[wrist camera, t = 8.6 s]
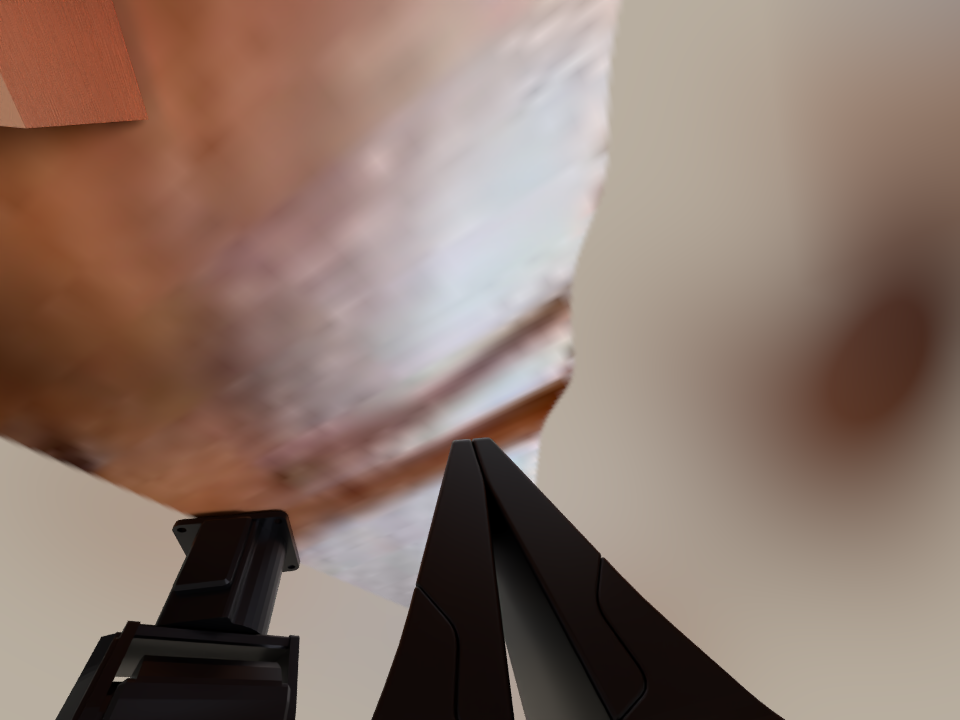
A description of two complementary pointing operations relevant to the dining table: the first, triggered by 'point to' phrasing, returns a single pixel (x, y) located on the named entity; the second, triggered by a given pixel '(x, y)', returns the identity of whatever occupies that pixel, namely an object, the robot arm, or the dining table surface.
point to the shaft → (64, 65)
